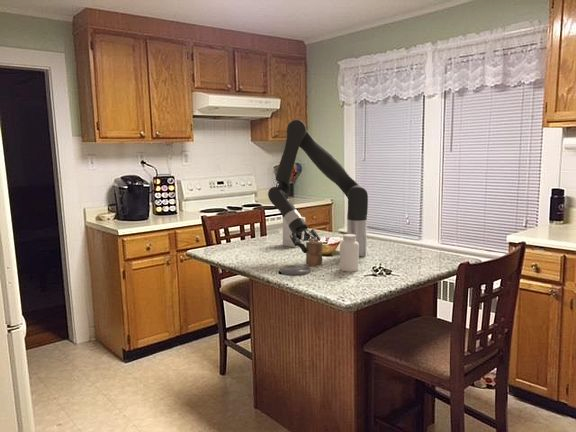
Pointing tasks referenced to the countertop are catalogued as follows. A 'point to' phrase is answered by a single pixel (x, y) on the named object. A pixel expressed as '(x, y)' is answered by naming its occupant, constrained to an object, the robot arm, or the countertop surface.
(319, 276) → the countertop surface
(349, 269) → the pill bottle
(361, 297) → the countertop surface
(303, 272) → the disc
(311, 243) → the walnut block
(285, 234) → the supplement box
